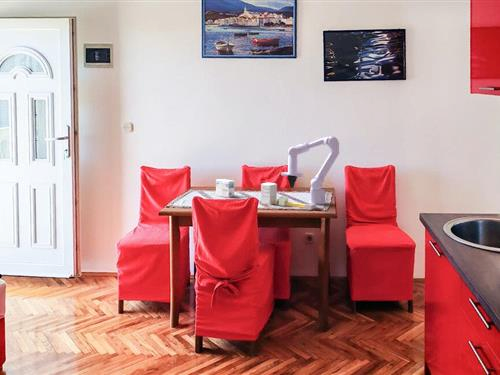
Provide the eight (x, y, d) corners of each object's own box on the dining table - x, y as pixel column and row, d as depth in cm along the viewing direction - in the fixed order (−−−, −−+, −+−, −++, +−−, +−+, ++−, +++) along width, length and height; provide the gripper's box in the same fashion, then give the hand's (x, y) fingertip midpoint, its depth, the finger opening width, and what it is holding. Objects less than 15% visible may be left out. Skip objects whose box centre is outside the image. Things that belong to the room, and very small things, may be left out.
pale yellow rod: (311, 207, 386) (311, 202, 385) (309, 208, 383) (309, 203, 382) (276, 203, 397) (276, 198, 396) (273, 204, 394) (273, 198, 393)
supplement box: (267, 201, 403) (268, 182, 401) (276, 203, 398) (277, 183, 396) (260, 203, 397) (260, 183, 395) (269, 205, 392) (270, 185, 390)
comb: (315, 207, 387) (315, 203, 386) (311, 209, 380) (311, 205, 380) (309, 206, 389) (309, 202, 388) (304, 209, 382) (305, 204, 382)
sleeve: (287, 204, 394) (288, 196, 393) (284, 205, 390) (284, 198, 389) (281, 203, 396) (282, 196, 395) (278, 205, 392) (278, 197, 391)
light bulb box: (234, 196, 420) (234, 180, 418) (228, 197, 414) (228, 181, 412) (221, 194, 425) (221, 178, 423) (215, 195, 420) (215, 179, 418)
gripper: (305, 166, 396) (305, 187, 398) (284, 164, 403) (284, 185, 405) (301, 167, 390) (300, 189, 392) (280, 165, 396) (279, 187, 399)
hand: (291, 187), depth 398 cm, fingers closed
